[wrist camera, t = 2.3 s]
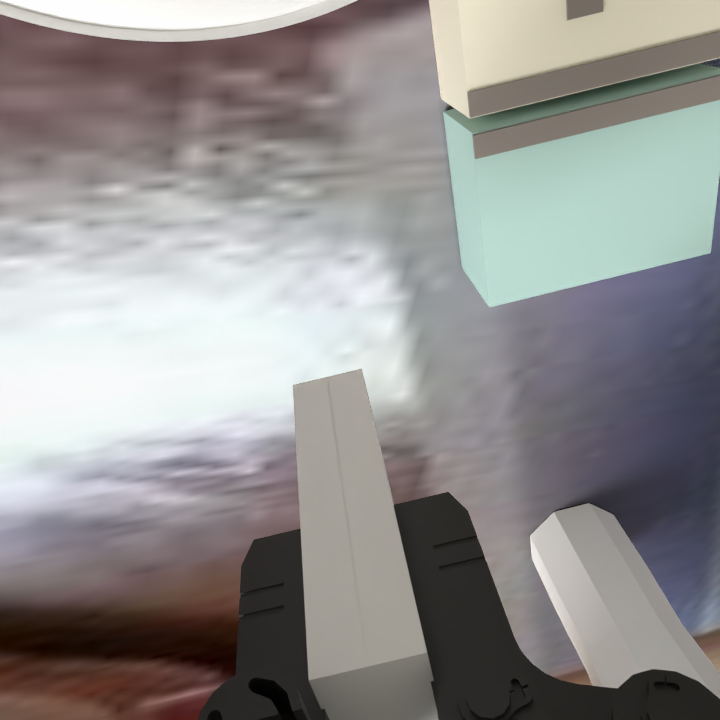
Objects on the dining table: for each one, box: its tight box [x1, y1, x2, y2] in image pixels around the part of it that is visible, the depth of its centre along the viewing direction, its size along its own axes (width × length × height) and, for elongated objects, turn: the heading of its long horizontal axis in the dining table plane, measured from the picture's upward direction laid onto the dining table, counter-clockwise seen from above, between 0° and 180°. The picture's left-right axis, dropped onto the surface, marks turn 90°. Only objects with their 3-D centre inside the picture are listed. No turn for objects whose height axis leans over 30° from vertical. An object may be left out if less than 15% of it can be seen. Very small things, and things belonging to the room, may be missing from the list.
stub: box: [443, 63, 720, 307], centre depth 22 cm, size 8×6×4 cm
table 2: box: [530, 503, 720, 698], centre depth 27 cm, size 28×28×17 cm
